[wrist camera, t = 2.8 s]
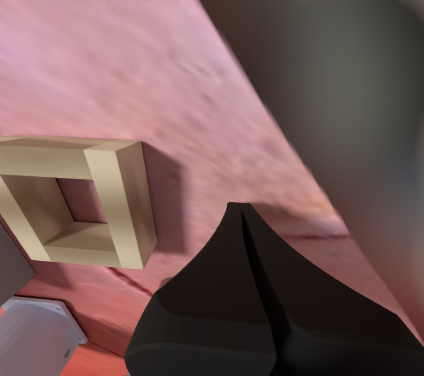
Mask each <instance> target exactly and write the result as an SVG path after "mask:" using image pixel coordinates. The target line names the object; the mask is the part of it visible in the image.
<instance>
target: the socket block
mask: <svg viewBox="0 0 424 376" xmlns="http://www.w3.org/2000/svg"><path fill="white" fill-rule="evenodd" d="M55 178H72V179H88V180H93V181H94V184H95V187H96V190H97V193H98V196H99V199H100V203H101V206H102V209H103V212H104V215H105V218H106V221H107V224H101V223H88V222H74V220H73V218H72V215H71V213H70V211H69V209H68V206H67V204H66V202H65V199H64V197H63V195H62V193H61V190H60V188H59V186H58V184H57V181H56V179H55ZM0 214H1V215H2V217H3V218H4V220H5V221H6V223H7V224H8V226H9V227H10V229H11V230H12V232H13V233H14V235H15V236H16V238H17V239H18V241H19V242H20V244H21V245H22V246H23V248H24V249H25V251H26V252H27V254H28V255H29V257H30V258H31V260H39V261H50V262H62V263H73V264H84V265H96V266H107V267H118V268H130V269H141V270H144V268H145V266H146V264H147V262H148V260H149V258H150V256H151V254H152V252H153V250H154V248H155V246H156V244H157V237H156V231H155V224H154V218H153V212H152V206H151V200H150V194H149V188H148V182H147V175H146V169H145V163H144V157H143V151H142V145H141V141H137V140H115V139H93V138H71V137H49V136H27V135H9V136H2V137H0Z"/></svg>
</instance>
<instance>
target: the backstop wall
mask: <svg viewBox="0 0 424 376" xmlns="http://www.w3.org/2000/svg"><path fill="white" fill-rule="evenodd" d="M35 276H36V273H35V272H34V271H33V269H32V268H31V266H30V265H29V263H28V262H27V261H26V259H25V258H24V256H23V255H22V253H21V252H20V250H19V249H18V248H17V246H16V245H15V243H14V242H13V240H12V239H11V238H10V236H9V235H8V233H7V232H6V230H5V229H4V228H3V226H2V225H1V223H0V307H1V306H2V305H3V304H4V303H5V302H7V301H8V300H9V299H10V298H11V297H12V296H13V295H14V294H16V293H17V292H18V291H19V290H20V289H21V288H22V287H23V286H25V285H26V284H27V283H28V282H29V281H30V280H31V279H32V278H33V277H35Z"/></svg>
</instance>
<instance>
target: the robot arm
mask: <svg viewBox="0 0 424 376" xmlns="http://www.w3.org/2000/svg"><path fill="white" fill-rule="evenodd" d="M1 307H2V308H3V309H4V310H5V312H4V313H3V314H2V315H1V316H0V376H60V374H61V372H62V371H63V369H64V367H65V366H66V364H67V363H68V361H69V359H70V358H71V356H72V354H73V353H74V351H75V350H76V348H77V346H78V345H79V344H86V343H87V341H88V339H87V337H86V336H85V334H84V333H83V331H82V330H81V328H80V327H79V325H78V324H77V322H76V321H75V319H74V318H73V316H72V315H71V313H70V312H69V310H68V309H67V307H66V306H65V304H64V303H63V302H61V301H56V300H46V299H37V298H27V297H17V296H12V297H11V298H10V299H9V300H8V301H7V302H5V303H4V304H3V305H2V306H1ZM124 359H125V364H126V368H127V369H128V371H129V373H130V375H131V376H424V347H423V345H422V344H421V343H420V342H419V341H418V339H417V338H416V337H415V336H414V334H413V333H412V332H411V331H410V330H409V328H408V327H407V326H406V325H405V324H404V322H403V321H402V320H401V319H400V318H399V316H398V315H396V314H395V313H393V312H391V311H389V310H388V309H386V308H384V307H382V306H381V305H379V304H377V303H375V302H374V301H372V300H370V299H368V298H366V297H365V296H363V295H361V294H359V293H358V292H356V291H354V290H353V289H351V288H349V287H348V286H346V285H345V284H343V283H341V282H340V281H338V280H337V279H335V278H333V277H332V276H330V275H329V274H327V273H326V272H324V271H323V270H321V269H320V268H319V267H317V266H316V265H314V264H313V263H312V262H310V261H309V260H307V259H306V258H305V257H303V256H302V255H301V254H300V253H298V252H297V251H296V250H295V249H293V248H292V247H291V246H290V245H289V244H287V243H286V242H285V241H284V240H283V239H282V238H281V237H280V236H279V235H278V234H277V233H276V232H274V231H273V230H272V229H271V227H270V226H269V225H268V224H267V223H266V222H265V221H264V220H263V219H262V217H261V216H260V215H259V214H258V213H257V211H256V210H255V209H254V208H253V207H252V205H251V204H250V203H236V202H229V203H227V208H226V211H225V214H224V216H223V218H222V220H221V222H220V224H219V226H218V227H217V229H216V231H215V232H214V234H213V235H212V237H211V238H210V240H209V241H208V242H207V244H206V245H205V246H204V247H203V248H202V249H201V251H200V252H199V253H198V254H197V255H196V256H195V257H194V258H193V259H192V260H191V261H190V262H189V263H188V264H187V265H186V266H185V267H184V268H183V269H182V270H181V271H180V272H179V273H178V274H177V275H175V276H174V277H173V278H172V279H171V280H169V281H168V282H167V283H166V284H164V285H163V286H162V287H161V288H160V289H158V290H157V291H156V292H155V293H154V295H153V296H152V298H151V300H150V301H149V303H148V305H147V306H146V308H145V310H144V312H143V314H142V316H141V318H140V320H139V322H138V324H137V326H136V328H135V331H134V333H133V336H132V338H131V341H130V343H129V346H128V348H127V351H126V353H125V356H124Z"/></svg>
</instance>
